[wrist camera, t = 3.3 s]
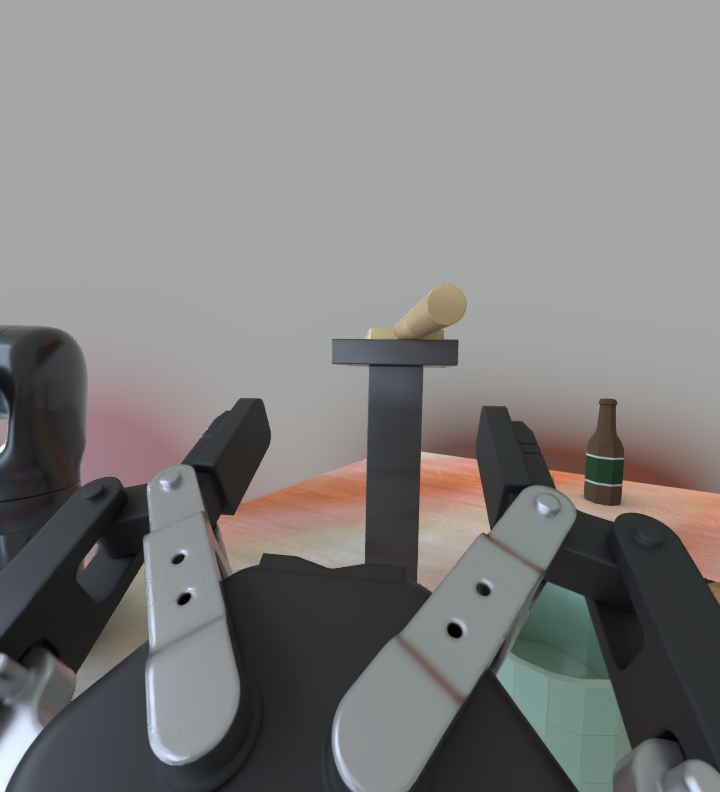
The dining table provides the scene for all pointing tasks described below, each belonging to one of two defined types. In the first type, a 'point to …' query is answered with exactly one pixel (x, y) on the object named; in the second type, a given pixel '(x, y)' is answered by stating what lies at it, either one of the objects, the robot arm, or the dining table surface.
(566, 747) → the pot
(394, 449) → the stand
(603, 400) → the beer bottle
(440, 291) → the rice paddle
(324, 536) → the dining table surface
